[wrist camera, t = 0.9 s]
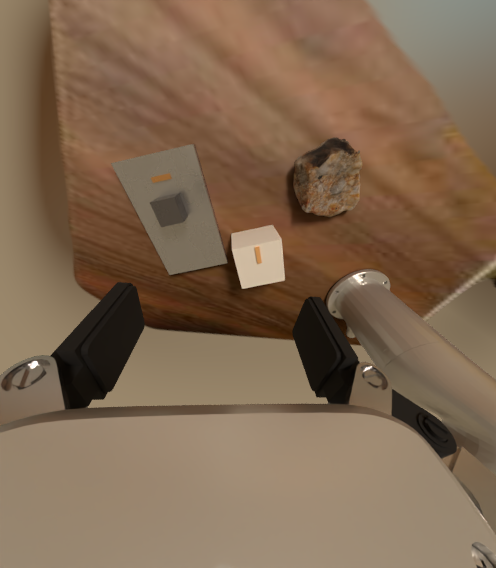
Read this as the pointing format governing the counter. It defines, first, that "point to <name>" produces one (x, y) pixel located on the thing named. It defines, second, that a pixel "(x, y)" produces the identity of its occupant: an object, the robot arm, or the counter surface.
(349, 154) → the rock
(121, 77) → the counter surface
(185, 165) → the plate
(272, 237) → the orange-striped white cube
